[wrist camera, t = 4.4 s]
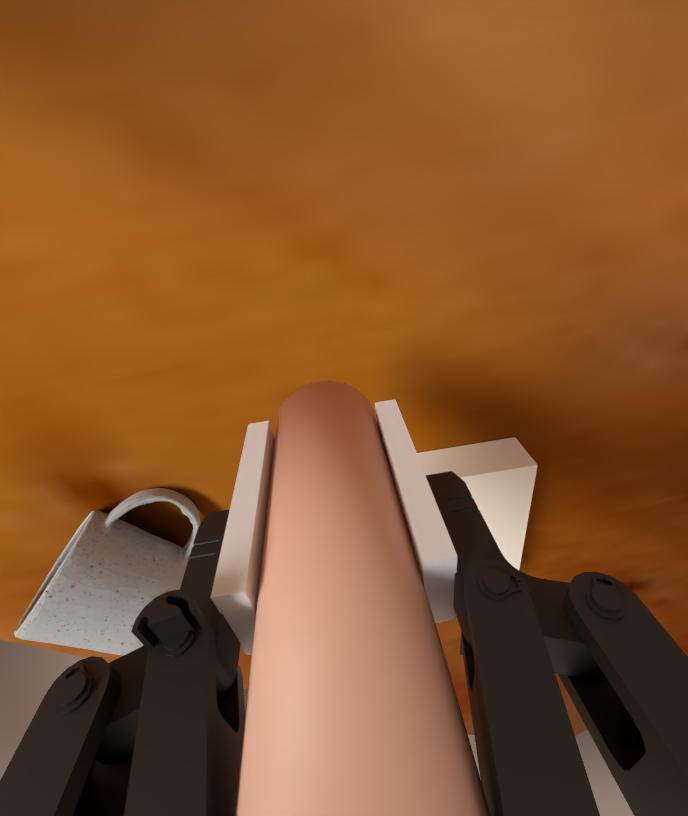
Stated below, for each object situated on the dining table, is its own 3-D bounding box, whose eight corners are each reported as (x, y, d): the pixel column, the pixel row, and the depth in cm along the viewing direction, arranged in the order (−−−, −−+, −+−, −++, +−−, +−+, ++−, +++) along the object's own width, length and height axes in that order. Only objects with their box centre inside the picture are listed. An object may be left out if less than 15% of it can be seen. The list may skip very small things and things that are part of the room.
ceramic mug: (166, 584, 31) (129, 688, 25) (64, 548, 28) (-10, 658, 22) (233, 509, 28) (210, 609, 21) (124, 459, 25) (58, 558, 18)
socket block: (318, 469, 26) (319, 500, 23) (515, 437, 26) (537, 464, 23) (345, 585, 33) (349, 619, 31) (499, 561, 33) (515, 592, 31)
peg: (265, 390, 14) (168, 952, 4) (369, 373, 14) (536, 889, 4) (289, 468, 16) (265, 956, 6) (379, 452, 16) (502, 916, 6)
